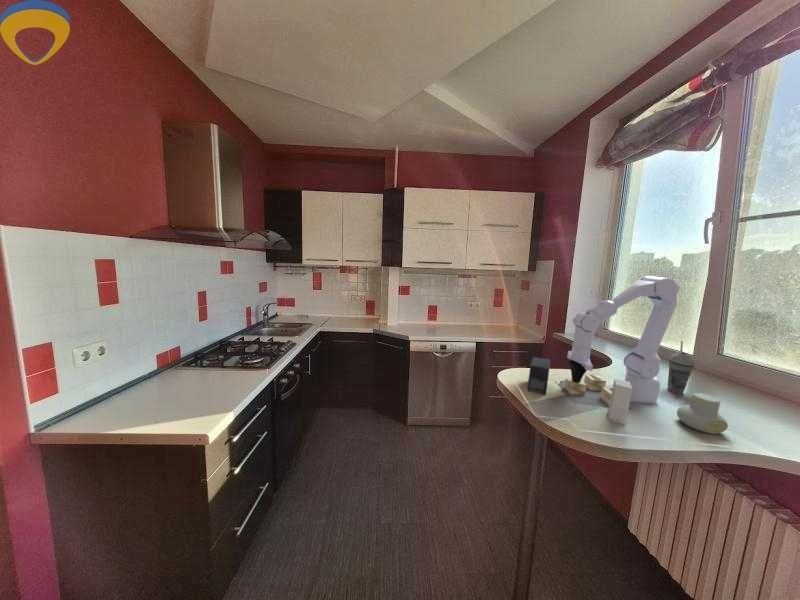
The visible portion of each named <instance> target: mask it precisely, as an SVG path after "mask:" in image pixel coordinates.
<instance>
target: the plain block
mask: <svg viewBox="0 0 800 600" xmlns="http://www.w3.org/2000/svg"><path fill="white" fill-rule="evenodd" d="M564 381H565V387H564V388H565V389H566V390H567V391H568V392H569V393H570V394H576V395H585V392H586V386H587V385H586V384H585V383H584V381H583V380H581V381H580V382H573V381H572V377H565V380H564Z"/></svg>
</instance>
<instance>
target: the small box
mask: <svg viewBox="0 0 800 600" xmlns="http://www.w3.org/2000/svg"><path fill="white" fill-rule="evenodd" d="M550 366H551V360H550V359H547V358H541V357H536V356H533V357H532V359H531V363H530V368H529V372H528V373H529V374H528V382H527V391H528V392H531V393H535V394H540V395H543V396H546V395H547V390H548V383H549V382H548V381H549V373H550Z"/></svg>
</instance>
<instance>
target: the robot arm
mask: <svg viewBox="0 0 800 600" xmlns="http://www.w3.org/2000/svg"><path fill="white" fill-rule="evenodd" d="M679 290H680V286H679V285H678V283H677V282H676V281H675V279H673V278H671V277H659V276H652V275H646V276H645V275H644V276H643V277H640V279H637V280H635V281H634V283H633V284H632V285H631V286H629V287H628V288H626V289H625V290H624V291H622V292H621V293H619V294H618V295H616V296H615V297H613V298H612V299H610V300H605V299H604V300H599V301H598V302H597V304H596V305H594V306H593V307H591V308H589V309H588V308H587V309H586V310H585V312H582V311H581V312H579V313H577V314H576V315H575V317H574V318H572V322H573V324H574V334H573V340H572V341H573V342H572V346H571V347H572V348H571V350H568V351H567V357H566V358H567V359H568V365H569V369H570V374H571V378H572V381H573V382H580V381H582V378H583V376H585V374H586V373H587V371H591V372H592V371H593V370H594V369H593V368H594V365H593V364H592V362H591V359H590V357H591V351H592V344H593V339H594V333H595V331H597V329H598V328H599V326H600V325H601V323H603V322H605V321H606V320H608V319H609V318H611V317H613V316H614V315H616V314H617V312H618V309H619V308H621V307H623V306H625V305H626V304H629V303H631V302H632V301H634V300H637V299H638V298H640V297H647V298H649V300H650V302H652V304H653V307H652V310H651V311H650V314H649V317H648V319H647V321H646V324H645V326H644V329H643V331H642V334H641V336H640V339H639V340H638V343H637V345H636V346H634V347H632V348H630V351H629V353H627V354H626V355H625V356H624V358H623V364H624V367H625V370H626V372H625V377H624V381H628V382H630V383H631V386H632V388H633V389H632V394H631V399H630V402H636V403H645V404H656V405H659V402H658V398H659V393H660V390H661V389H660V388H661V384H660V380H659V378H657V377H656V376H658V375H659V373H660V364H661V362H662V361H661V358H660V356H659V354H658V350H659V347H660V346H661V343H662V341H663V338H664V336H665V333H666V332H667V328H668V327H669V324H670V321H671V319H672V318H673V314H674V313H675V310H676V308H677V304H678V297H677V294H678V292H679Z"/></svg>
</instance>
